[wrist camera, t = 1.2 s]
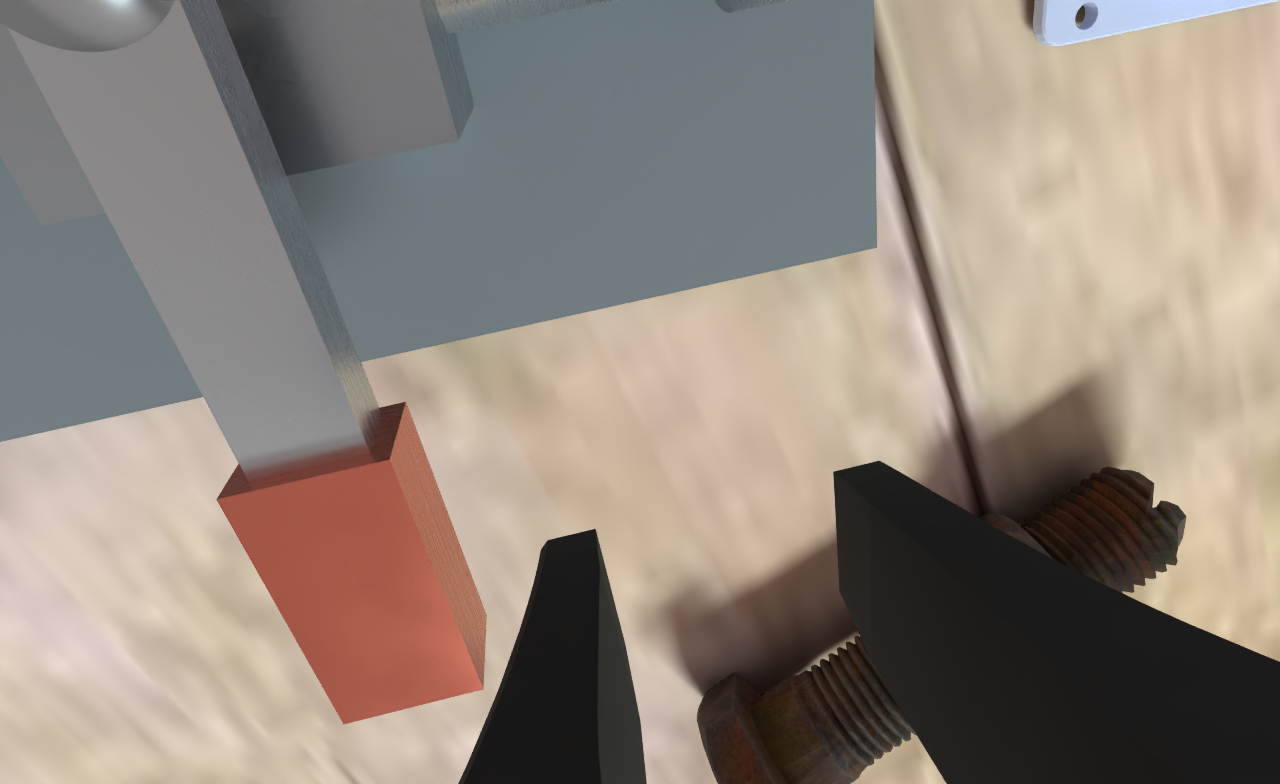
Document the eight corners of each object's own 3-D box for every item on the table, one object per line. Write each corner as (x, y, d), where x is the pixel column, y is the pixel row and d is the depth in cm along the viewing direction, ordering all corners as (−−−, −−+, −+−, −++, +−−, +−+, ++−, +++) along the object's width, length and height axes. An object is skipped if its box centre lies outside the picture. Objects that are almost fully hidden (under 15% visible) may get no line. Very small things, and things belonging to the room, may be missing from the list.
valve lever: (-54, -176, 7) (-193, -226, 6) (173, -215, 7) (90, -274, 6) (362, 645, 13) (344, 724, 11) (486, 615, 13) (482, 689, 11)
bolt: (1071, 453, 25) (723, 695, 27) (1083, 400, 20) (670, 692, 22) (1224, 598, 21) (816, 861, 23) (1275, 571, 17) (773, 893, 19)
